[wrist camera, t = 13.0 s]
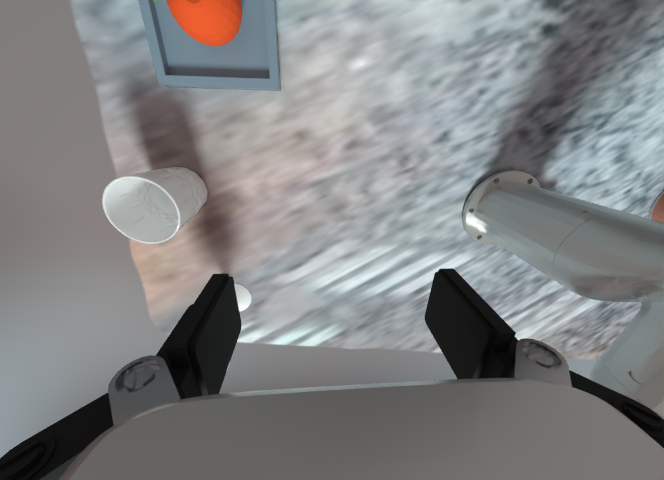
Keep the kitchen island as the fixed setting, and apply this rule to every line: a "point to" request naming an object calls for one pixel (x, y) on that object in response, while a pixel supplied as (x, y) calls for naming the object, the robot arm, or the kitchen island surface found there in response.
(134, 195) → the white cup
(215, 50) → the dish
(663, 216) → the canned food
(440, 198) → the kitchen island surface
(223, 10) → the clementine
